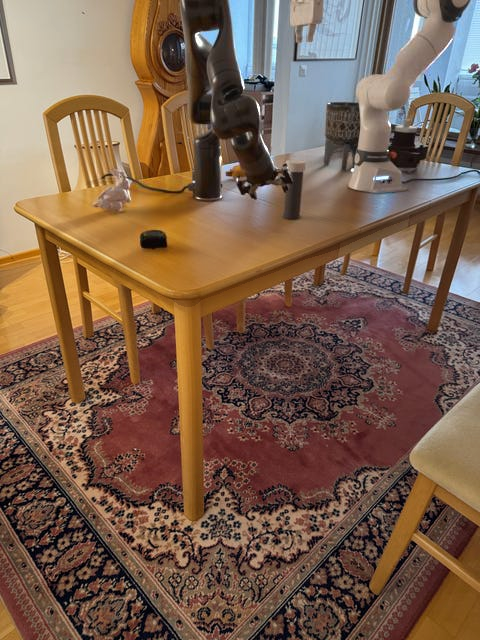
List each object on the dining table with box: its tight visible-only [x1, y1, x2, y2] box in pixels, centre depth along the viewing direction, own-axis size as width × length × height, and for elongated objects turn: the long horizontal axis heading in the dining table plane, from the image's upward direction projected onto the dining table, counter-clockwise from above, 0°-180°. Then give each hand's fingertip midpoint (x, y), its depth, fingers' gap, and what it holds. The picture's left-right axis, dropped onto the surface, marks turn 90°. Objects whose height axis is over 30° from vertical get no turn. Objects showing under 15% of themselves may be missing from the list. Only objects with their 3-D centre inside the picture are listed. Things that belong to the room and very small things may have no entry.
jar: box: [283, 171, 304, 221], centre depth 139 cm, size 5×5×16 cm
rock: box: [333, 147, 351, 154], centre depth 243 cm, size 13×9×6 cm, turn 131°
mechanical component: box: [388, 119, 430, 174], centre depth 205 cm, size 22×21×30 cm
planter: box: [323, 101, 360, 172], centre depth 204 cm, size 20×20×26 cm
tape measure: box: [139, 229, 168, 250], centre depth 117 cm, size 7×7×4 cm
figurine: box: [92, 167, 133, 213], centre depth 142 cm, size 8×15×13 cm, turn 145°
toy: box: [225, 163, 246, 180], centre depth 185 cm, size 11×6×15 cm
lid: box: [285, 159, 307, 173], centre depth 135 cm, size 6×6×2 cm
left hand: (270, 193), depth 126 cm, fingers open, 8 cm apart
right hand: (304, 42), depth 147 cm, fingers open, 8 cm apart
